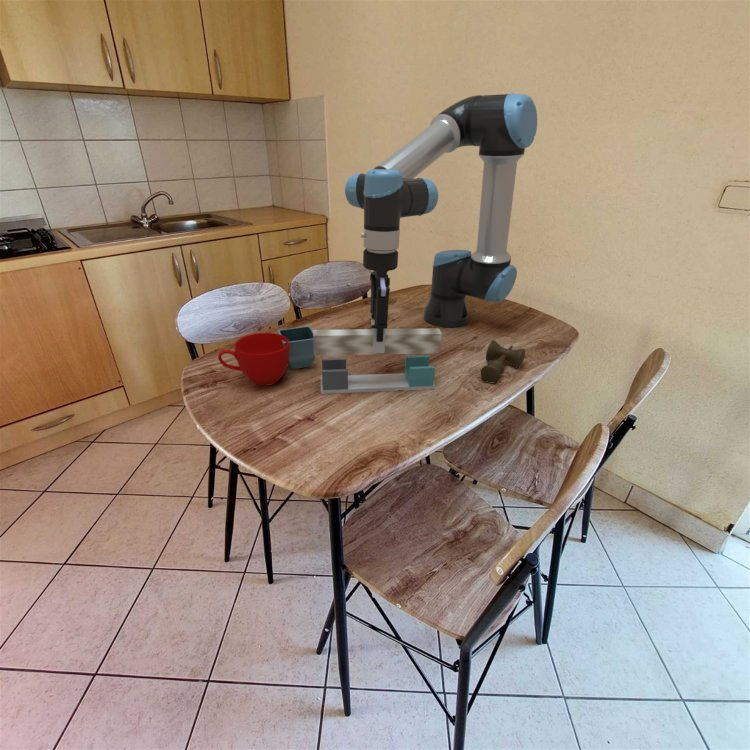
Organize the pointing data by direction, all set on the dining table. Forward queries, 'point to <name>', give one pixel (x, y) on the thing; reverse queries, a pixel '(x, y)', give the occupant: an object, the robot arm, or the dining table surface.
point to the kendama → (500, 361)
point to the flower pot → (299, 346)
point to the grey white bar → (363, 341)
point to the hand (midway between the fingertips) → (377, 348)
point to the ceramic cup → (260, 357)
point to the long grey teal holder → (376, 377)
